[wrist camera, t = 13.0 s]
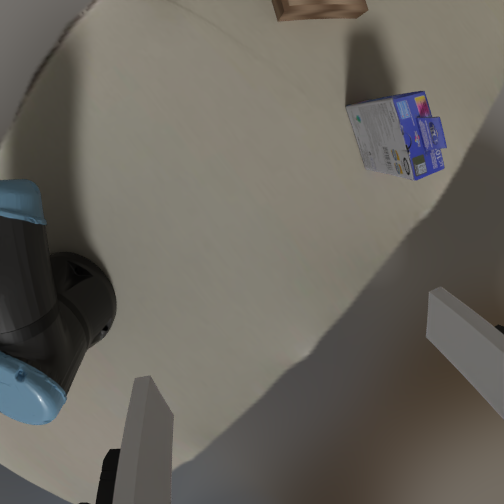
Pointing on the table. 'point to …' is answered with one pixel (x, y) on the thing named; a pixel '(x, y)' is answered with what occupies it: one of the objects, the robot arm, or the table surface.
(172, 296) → the table surface
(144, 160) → the table surface
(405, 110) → the ink cartridge box
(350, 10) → the plinth
